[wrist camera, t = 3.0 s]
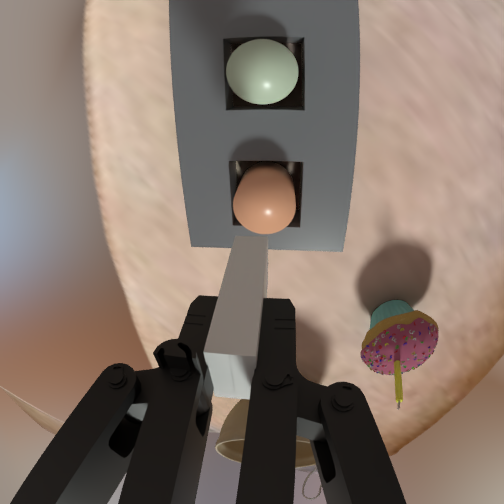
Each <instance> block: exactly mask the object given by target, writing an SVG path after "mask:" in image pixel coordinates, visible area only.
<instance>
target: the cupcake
mask: <svg viewBox="0 0 504 504" xmlns="http://www.w3.org/2000/svg"><path fill="white" fill-rule="evenodd" d="M437 341H438V325H437V323H436V322H435V321H434V320H433V319H432V318H431V317H430V316H428V315H426V314H424V313H422V312H420V311H418V310H415V311H414V310H413V309H412V308H411V307H410V306H409V305H408V303H406V302H405V301H402V300H391V301H388V302H385V303H383V304H382V305H380V306H379V307H378V308H377V309H376V310H375V311H374V312H373V314H372V316H371V324H370V330H369V331H368V332H367V334H366V336H365V339H364V341H363V342H362V351H361V358H362V360H363V362H364V363H365V364H366V365H367V366H368V367H370V370H373V371H374V372H375V371H376V372H377V373H380V374H382V375H383V374H385V375H394V374H395V393H396V402H397V403H398V408H397V409H399V408H400V402H402V401H403V392H402V377H401V373H402V372H404V373H405V372H409V371H410V370H411V369H415V368H417V367H419V366H421V365H422V364H423V363H424V362H425V361H426V360H427V359H428V358H429V357H430V355H431V354H433V352H434V351H433V350H434V349H435V347H436V345H437ZM402 374H403V373H402Z"/></svg>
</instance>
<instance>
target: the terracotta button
mask: <svg viewBox="0 0 504 504" xmlns="http://www.w3.org/2000/svg"><path fill="white" fill-rule="evenodd" d="M233 210H234V214H235V216H236V218H237V220H238V221H239V222H240V223H241V224H242V225H243V226H244V227H245V228H246V229H248V230H250V231H252V232H255V233H259V234H272V233H276V232H279V231H281V230H283V229H284V228H285V227H287V226H288V225H289V223H290V222H291V221H292V219H293V217H294V215H295V210H296V203H295V190H294V182H293V179H292V177H291V175H290V173H289V172H288V171H287V170H286V169H285V168H284V167H282V166H281V165H279V164H276V163H273V162H261V163H257V164H255V165H253V166H251V167H250V168H249V169H248V170H247V171H246V172H245V173H244V175H243V177H242V179H241V182H240V184H239V186H238V189H237V191H236V194H235V196H234V200H233Z"/></svg>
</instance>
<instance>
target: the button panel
mask: <svg viewBox="0 0 504 504" xmlns="http://www.w3.org/2000/svg"><path fill="white" fill-rule="evenodd" d="M169 24H170V51H171V70H172V86H173V99H174V111H175V123H176V133H177V143H178V152H179V161H180V169H181V178H182V185H183V193H184V200H185V208H186V215H187V221H188V228H189V235H190V241H191V247H216V248H232V246H233V242H234V239H235V236H262V237H268V249H275V250H304V251H332V252H343V248H344V241H345V235H346V229H347V222H348V215H349V208H350V200H351V192H352V184H353V175H354V165H355V154H356V143H357V129H358V112H359V88H360V30H359V8H358V0H169ZM256 39H268V40H273V41H276V42H278V43H301V45H302V107H296V106H236V107H234V106H233V90H232V89H231V87H230V85H229V83H228V80H227V76H226V67H227V63H228V60H229V58H230V56H231V44H241V43H246V42H248V41H251V40H256ZM236 161H295V162H301V167H300V192H299V210H295V215H294V217H293V219H292V221H291V222H290V223H289V225H288V226H287V227H285V228H284V229H283V230H281V231H279V232H276V233H272V234H259V233H255V232H252V231H250V230H248V229H246V228H245V227H244V226H243V225H242V224H241V223H240V222H239V221H238V220H237V218H236V216H235V214H234V210H233V200H234V196H235V194H236V191H237V172H236Z"/></svg>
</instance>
